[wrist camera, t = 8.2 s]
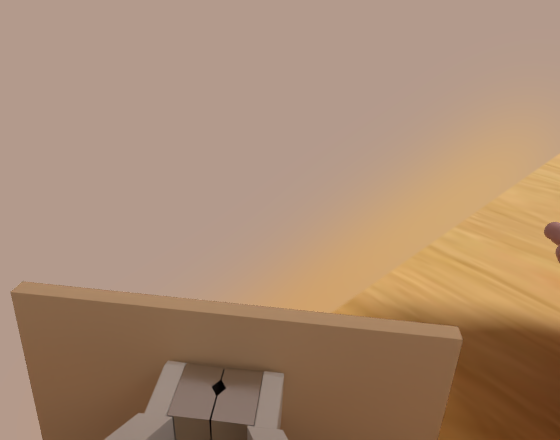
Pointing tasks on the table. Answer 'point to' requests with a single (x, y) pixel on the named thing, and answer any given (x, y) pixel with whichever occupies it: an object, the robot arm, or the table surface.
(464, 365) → the table surface
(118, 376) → the front flap
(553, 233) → the balloon
